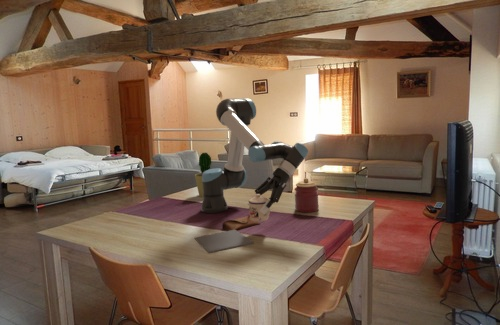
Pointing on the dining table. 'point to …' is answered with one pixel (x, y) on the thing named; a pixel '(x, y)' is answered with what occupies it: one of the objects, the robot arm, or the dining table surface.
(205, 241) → the charcoal mat
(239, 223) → the sunglasses case
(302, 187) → the canister
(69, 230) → the dining table surface
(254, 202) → the teacup with lid
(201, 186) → the potted cactus
